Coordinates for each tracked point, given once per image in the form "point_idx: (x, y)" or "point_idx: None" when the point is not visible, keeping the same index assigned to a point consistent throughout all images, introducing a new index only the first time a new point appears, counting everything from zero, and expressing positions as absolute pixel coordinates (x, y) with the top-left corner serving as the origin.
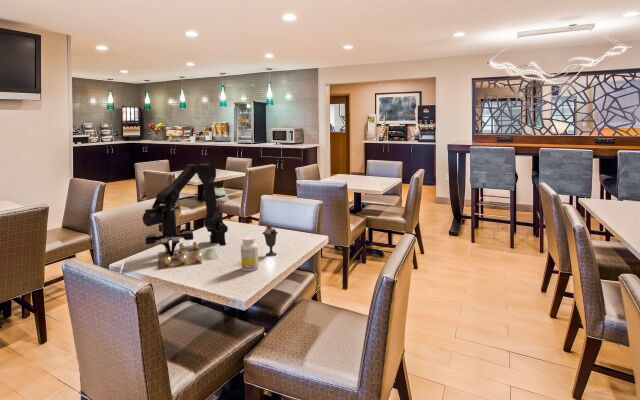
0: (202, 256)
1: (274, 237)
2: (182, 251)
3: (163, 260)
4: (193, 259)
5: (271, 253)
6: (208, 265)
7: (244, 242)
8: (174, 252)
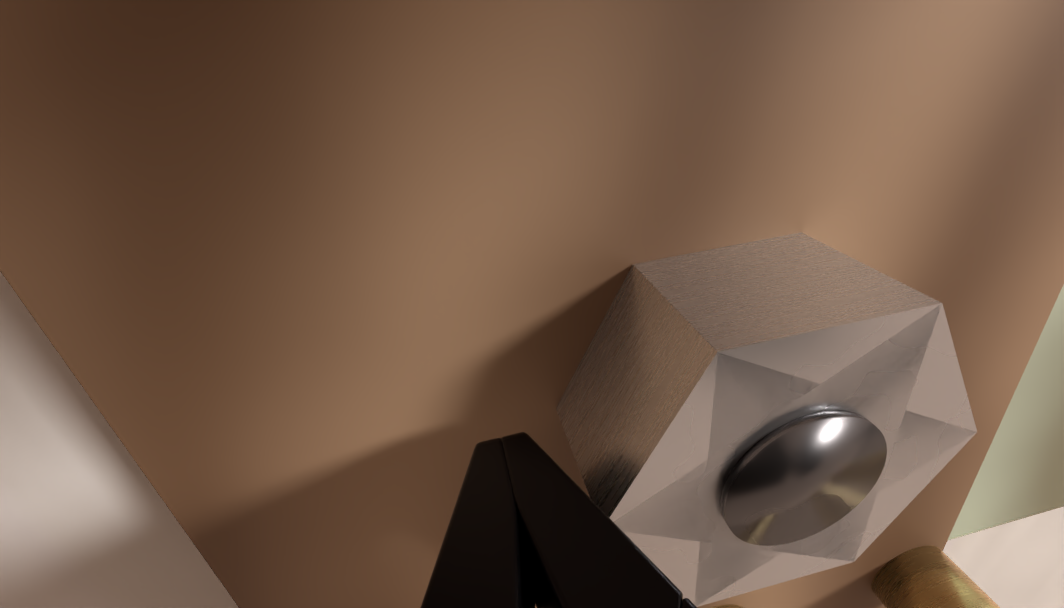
0: (1060, 365)
1: None
2: (849, 464)
3: (316, 500)
4: None
5: None
6: (951, 551)
7: None
8: None
